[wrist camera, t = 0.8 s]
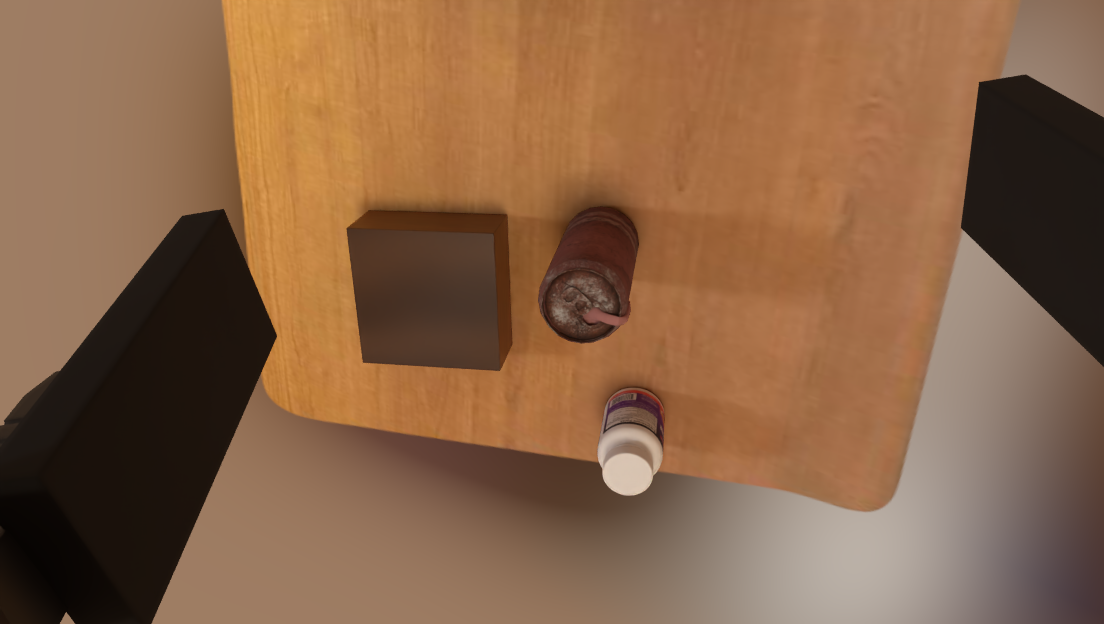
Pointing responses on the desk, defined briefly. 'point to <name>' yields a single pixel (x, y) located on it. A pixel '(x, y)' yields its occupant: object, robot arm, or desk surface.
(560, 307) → the can
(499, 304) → the walnut block
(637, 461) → the pill bottle
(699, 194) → the desk surface
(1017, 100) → the robot arm
